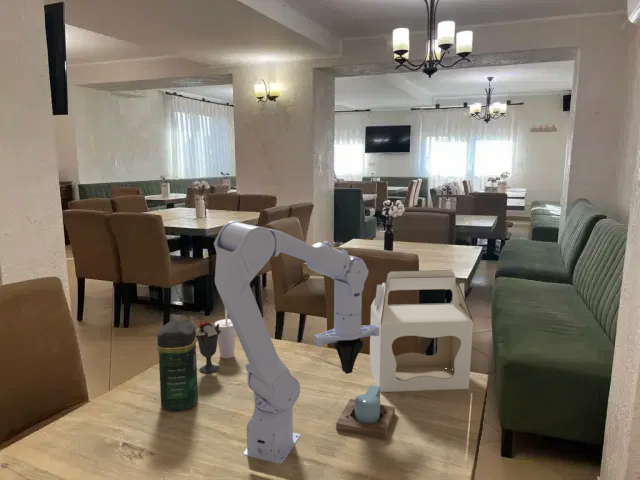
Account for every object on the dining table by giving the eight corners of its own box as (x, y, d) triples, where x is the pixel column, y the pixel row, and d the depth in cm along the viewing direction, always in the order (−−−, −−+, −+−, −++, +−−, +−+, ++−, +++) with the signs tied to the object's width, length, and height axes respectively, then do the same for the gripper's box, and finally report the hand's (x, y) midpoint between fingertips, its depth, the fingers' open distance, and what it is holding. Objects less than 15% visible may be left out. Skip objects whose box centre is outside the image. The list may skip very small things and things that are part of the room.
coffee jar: (195, 411, 101) (191, 331, 98) (158, 414, 100) (152, 333, 97) (200, 389, 111) (197, 316, 107) (166, 392, 110) (161, 317, 106)
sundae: (190, 373, 119) (187, 317, 116) (204, 362, 125) (202, 309, 123) (213, 376, 117) (211, 320, 114) (226, 365, 123) (224, 311, 121)
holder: (384, 442, 90) (385, 432, 90) (336, 431, 94) (336, 422, 93) (394, 415, 100) (394, 407, 99) (350, 407, 103) (350, 398, 103)
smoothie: (241, 351, 132) (239, 304, 130) (235, 361, 126) (233, 312, 124) (219, 350, 133) (217, 303, 130) (212, 360, 127) (210, 311, 124)
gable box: (378, 394, 109) (380, 279, 104) (368, 368, 122) (370, 265, 117) (470, 390, 110) (477, 277, 105) (450, 365, 123) (456, 263, 118)
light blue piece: (376, 432, 93) (377, 409, 92) (351, 426, 95) (351, 404, 94) (386, 409, 101) (386, 387, 100) (363, 404, 103) (363, 383, 102)
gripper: (368, 301, 104) (367, 358, 106) (308, 310, 98) (308, 369, 100) (385, 310, 97) (383, 371, 100) (322, 320, 91) (322, 384, 94)
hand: (347, 371), depth 100 cm, fingers closed
